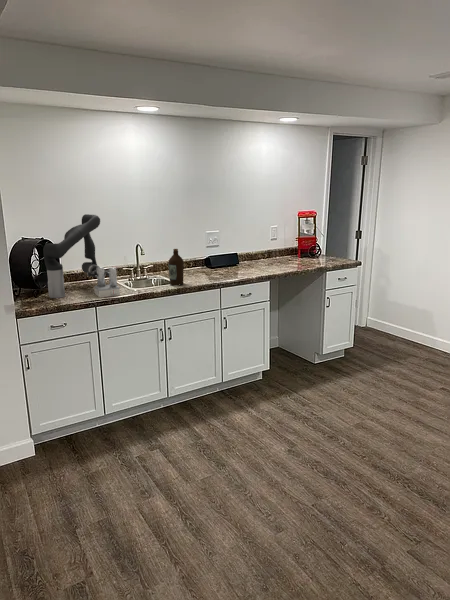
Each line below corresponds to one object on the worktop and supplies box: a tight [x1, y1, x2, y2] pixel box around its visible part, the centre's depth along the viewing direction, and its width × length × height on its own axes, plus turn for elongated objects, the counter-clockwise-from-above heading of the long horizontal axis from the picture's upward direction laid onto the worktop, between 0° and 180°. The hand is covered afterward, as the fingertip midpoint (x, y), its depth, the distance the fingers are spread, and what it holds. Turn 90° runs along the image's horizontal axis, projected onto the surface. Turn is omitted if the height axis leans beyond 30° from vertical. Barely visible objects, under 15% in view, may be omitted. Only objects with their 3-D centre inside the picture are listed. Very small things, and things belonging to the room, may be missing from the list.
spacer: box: [96, 266, 106, 287], centre depth 290 cm, size 5×5×12 cm
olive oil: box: [167, 248, 185, 286], centre depth 316 cm, size 11×11×25 cm
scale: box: [93, 283, 121, 298], centre depth 290 cm, size 13×12×5 cm
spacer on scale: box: [108, 267, 118, 288], centre depth 287 cm, size 5×5×12 cm
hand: (101, 275), depth 288 cm, fingers open, 8 cm apart
